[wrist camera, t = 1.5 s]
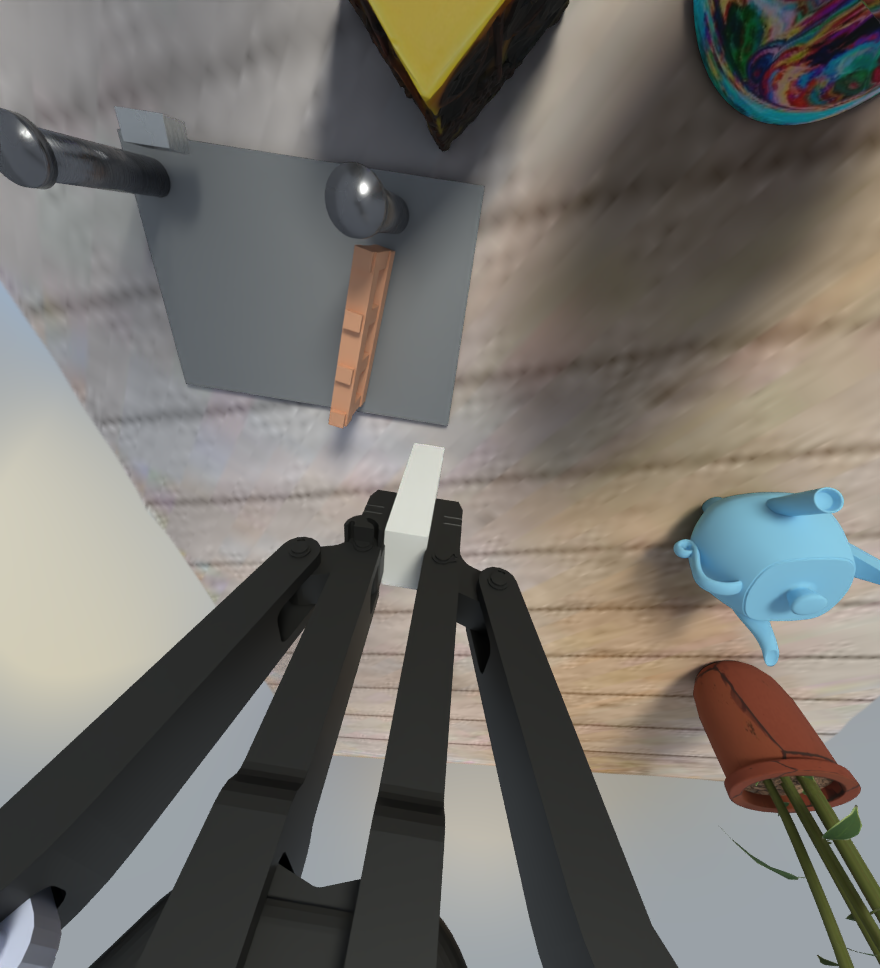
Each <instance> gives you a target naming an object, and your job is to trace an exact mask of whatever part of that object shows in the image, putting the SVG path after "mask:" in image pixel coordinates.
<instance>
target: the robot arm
mask: <svg viewBox="0 0 880 968" xmlns="http://www.w3.org/2000/svg"><path fill="white" fill-rule="evenodd" d="M444 449H445V448H443V447H437V446H431V445H425V444H419V443H414V446H413V449H412V452H411V455H410V458H409V461H408V464H407V467H406V469H405V472H404V475H403V478H402V481H401V484H400V487H399V490H398V493H395V492H388V491H382V490H377V491H376V492H375V493H373V494H372V495H371V496H370V498H369V500H368V502H367V505H366V507H365V509H364V511H363V514H362V515H359V516H354V517H352V518H350V519H348V520H347V521H346V523H345V524H344V534H345V542H344V543H342V544H339V545H334V546H323V547H320V545H319V543H318V542H317V541H316V540H314V539H312V538H308V537H297V538H294V539H291V540H289V541H287V542H286V543H284V544H283V545H282V546H281V547H280V548H279V549H278V550H277V551H276V552H275V553H274V554H272V555H271V556H270V557H269V558H268V559H267V560H266V561H265V562H264V563H263V564H262V565H261V566H260V567H259V568H257V569H256V570H255V571H254V572H253V573H252V574H251V575H250V576H249V577H248V578H247V579H246V580H245V581H244V582H242V583H241V584H240V585H239V586H238V587H237V588H236V589H235V590H234V591H233V592H232V593H231V594H230V595H229V596H227V597H226V598H225V599H224V600H223V601H222V602H221V603H220V604H219V605H218V606H217V607H216V608H215V609H214V610H213V611H211V612H210V613H209V614H208V615H207V616H206V617H205V618H204V619H203V620H202V621H201V622H200V623H199V624H197V625H196V626H195V627H194V628H193V629H192V630H191V631H190V632H189V633H188V634H187V635H186V636H185V637H184V638H182V640H180V641H179V642H178V643H177V644H176V645H175V646H174V647H173V648H172V649H171V650H170V651H169V652H167V653H166V654H165V655H164V656H163V657H162V658H161V659H160V660H159V661H158V662H157V663H156V664H155V665H154V666H153V667H151V668H150V669H149V670H148V671H147V672H146V673H145V674H144V675H143V676H142V677H141V678H140V679H139V680H138V681H137V682H135V683H134V684H133V685H132V686H131V687H130V688H129V689H128V690H127V691H126V692H125V693H124V694H123V695H121V696H120V697H119V698H118V699H117V700H116V701H115V702H114V703H113V704H112V705H111V706H110V707H109V708H107V710H105V711H104V712H103V713H102V714H101V715H100V716H99V717H98V718H97V719H96V720H95V721H94V722H92V723H91V724H90V725H89V726H88V727H87V728H86V729H85V730H84V731H83V732H82V733H81V734H80V735H79V736H78V737H76V738H75V739H74V740H73V741H72V742H71V743H70V744H69V745H68V746H67V747H66V748H65V749H64V750H62V751H61V752H60V753H59V754H58V755H57V756H56V757H55V758H54V759H53V760H52V761H51V762H50V763H49V764H48V765H46V766H45V767H44V768H43V769H42V770H41V771H40V772H39V773H38V774H37V775H36V776H35V777H34V778H32V779H31V780H30V781H29V782H28V783H27V784H26V785H25V786H24V787H23V788H22V789H21V790H20V791H19V792H17V794H15V795H14V796H13V797H12V798H11V799H10V800H9V801H8V802H7V803H6V804H5V805H4V806H2V807H1V808H0V968H52V966H53V963H54V961H55V956H56V953H57V951H58V948H59V943H60V938H61V929H62V928H63V927H64V926H66V925H67V924H68V923H69V922H70V921H71V920H72V919H73V918H74V917H75V916H76V915H77V914H78V913H79V912H80V911H81V910H82V909H83V908H84V907H85V906H86V905H87V903H88V902H89V901H90V900H91V899H92V898H93V897H94V896H95V895H96V894H97V893H98V892H99V891H100V889H101V888H102V887H103V886H104V885H105V884H106V883H107V882H108V881H109V880H110V878H111V877H112V876H113V875H114V874H115V872H116V871H117V870H118V869H119V867H120V866H121V865H122V864H123V863H124V861H125V860H126V859H127V858H128V857H129V855H130V854H131V853H132V852H133V850H134V849H135V848H136V846H137V845H138V844H139V843H140V841H141V840H142V839H143V838H144V836H145V835H146V834H147V832H148V831H149V830H150V828H151V827H152V826H153V824H154V823H155V822H156V821H157V819H158V818H159V817H160V815H161V814H162V813H163V811H164V810H165V809H166V808H167V806H168V805H169V804H170V802H171V801H172V800H173V798H174V797H175V796H176V795H177V793H178V792H179V791H180V789H181V788H182V786H183V785H184V784H185V783H186V781H187V780H188V779H189V778H190V776H191V775H192V774H193V772H194V771H195V770H196V769H197V767H198V766H199V765H200V763H201V762H202V761H203V759H204V758H205V756H207V754H208V753H209V752H210V750H211V749H212V748H213V746H214V745H215V744H216V743H217V741H218V740H219V739H220V737H221V736H222V735H223V733H224V732H225V731H226V730H227V728H228V727H229V725H230V724H231V723H232V722H233V720H234V719H235V718H236V717H237V715H238V714H239V713H240V711H241V710H242V709H243V707H244V706H245V705H246V703H247V702H248V701H249V700H250V698H251V697H252V696H253V694H254V693H255V692H256V690H257V689H258V688H259V687H260V685H261V684H262V683H263V681H264V680H265V679H266V677H267V676H268V675H269V674H270V672H271V671H272V670H273V668H274V667H275V666H276V664H277V663H278V662H279V661H280V659H281V658H282V657H283V655H284V654H285V653H286V651H287V650H288V649H289V648H290V646H291V645H292V644H293V642H294V641H295V640H296V638H297V637H298V636H299V635H300V633H301V632H302V631H303V629H304V628H305V630H304V632H303V634H302V636H301V638H300V640H299V643H298V645H297V647H296V649H295V651H294V654H293V656H292V658H291V660H290V662H289V664H288V667H287V669H286V671H285V673H284V675H283V678H282V680H281V682H280V684H279V686H278V688H277V691H276V693H275V695H274V697H273V700H272V702H271V704H270V706H269V708H268V710H267V713H266V715H265V717H264V719H263V721H262V724H261V726H260V728H259V730H258V732H257V734H256V736H255V739H254V741H253V743H252V745H251V747H250V750H249V752H248V754H247V756H246V758H245V760H244V762H243V764H242V766H241V768H240V769H239V771H238V772H237V774H235V775H234V776H233V777H231V778H230V779H229V780H228V781H227V783H226V784H225V785H224V787H223V788H222V789H221V791H220V793H219V795H218V797H217V799H216V800H215V802H214V804H213V807H212V808H211V811H210V813H209V815H208V817H207V819H206V821H205V823H204V825H203V827H202V829H201V831H200V834H199V836H198V838H197V840H196V842H195V844H194V846H193V848H192V850H191V852H190V854H189V857H188V859H187V861H186V863H185V865H184V867H183V869H182V871H181V873H180V875H179V878H178V880H177V882H176V884H175V886H174V888H173V890H172V891H170V892H169V893H168V894H167V895H165V896H164V897H163V898H162V899H160V900H159V901H158V902H157V903H156V904H155V905H154V906H153V907H152V908H151V909H150V910H148V911H147V912H146V913H145V914H144V915H143V916H142V917H141V918H140V919H139V920H138V921H137V922H136V923H135V924H134V925H133V926H132V927H131V928H130V929H129V930H127V931H126V932H125V933H124V934H123V935H122V936H121V937H120V938H119V939H118V940H117V941H116V942H115V943H114V944H113V945H112V946H111V947H110V948H109V949H108V950H107V951H105V952H104V953H103V954H102V955H101V956H100V957H99V958H98V959H97V960H96V961H95V962H94V963H93V964H92V965H91V966H90V967H89V968H467V966H466V963H465V960H464V959H463V956H462V953H461V951H460V949H459V947H458V945H457V943H456V941H455V939H454V937H453V935H452V933H451V932H450V930H449V929H448V927H447V926H446V925H445V923H444V921H443V920H442V919H441V918H440V901H441V886H442V885H441V884H442V869H443V854H444V838H445V837H444V836H445V814H444V789H445V776H446V762H447V748H448V733H449V719H450V705H451V691H452V677H453V662H454V648H455V634H456V622H457V623H459V624H461V625H463V626H465V627H466V632H467V637H468V641H469V646H470V650H471V655H472V659H473V664H474V668H475V673H476V678H477V682H478V687H479V691H480V696H481V700H482V705H483V709H484V714H485V718H486V723H487V728H488V732H489V737H490V741H491V746H492V750H493V755H494V759H495V764H496V768H497V773H498V777H499V782H500V787H501V791H502V796H503V800H504V805H505V809H506V813H507V818H508V823H509V827H510V832H511V837H512V841H513V845H514V850H515V855H516V859H517V864H518V868H519V873H520V877H521V882H522V887H523V891H524V895H525V900H526V905H527V909H528V914H529V918H530V922H531V926H532V930H533V934H534V937H535V941H536V945H537V949H538V952H539V956H540V959H541V962H542V965H543V968H678V966H677V965H676V963H675V961H674V960H673V958H672V957H671V955H670V954H669V952H668V950H667V949H666V947H665V945H664V944H663V943H662V941H661V939H660V938H659V936H658V935H657V933H656V931H655V930H654V928H653V926H652V924H651V922H650V919H649V917H648V914H647V912H646V909H645V907H644V904H643V901H642V899H641V896H640V894H639V892H638V889H637V886H636V884H635V881H634V879H633V876H632V874H631V871H630V868H629V866H628V863H627V861H626V858H625V856H624V853H623V851H622V848H621V846H620V843H619V841H618V838H617V835H616V833H615V831H614V828H613V825H612V823H611V820H610V818H609V815H608V813H607V810H606V808H605V806H604V803H603V800H602V797H601V795H600V792H599V790H598V787H597V785H596V782H595V780H594V777H593V775H592V772H591V769H590V767H589V764H588V762H587V759H586V757H585V754H584V752H583V749H582V747H581V744H580V741H579V739H578V736H577V734H576V731H575V729H574V726H573V724H572V721H571V719H570V716H569V714H568V711H567V708H566V706H565V703H564V701H563V698H562V696H561V693H560V691H559V688H558V686H557V683H556V681H555V678H554V675H553V673H552V670H551V668H550V665H549V663H548V660H547V658H546V655H545V653H544V650H543V648H542V645H541V642H540V640H539V637H538V635H537V632H536V630H535V627H534V625H533V622H532V620H531V617H530V615H529V612H528V609H527V607H526V604H525V602H524V599H523V597H522V594H521V592H520V589H519V587H518V584H517V582H516V580H515V578H514V577H513V575H511V574H510V573H509V572H508V571H506V570H504V569H501V568H497V567H490V568H486V569H484V570H483V571H479V570H477V569H475V568H473V567H471V566H469V565H468V564H467V563H466V562H465V561H464V560H463V559H462V557H461V555H460V540H461V525H462V512H463V510H462V508H461V506H460V504H459V502H455V501H449V500H443V499H437V494H438V488H439V481H440V475H441V468H442V462H443V456H444ZM381 579H382V584H385V585H391V586H397V587H403V588H409V589H416V590H417V594H416V599H415V604H414V609H413V615H412V620H411V625H410V630H409V636H408V641H407V646H406V651H405V657H404V662H403V667H402V672H401V677H400V683H399V688H398V693H397V698H396V704H395V709H394V714H393V719H392V725H391V730H390V735H389V740H388V746H387V751H386V756H385V762H384V767H383V772H382V777H381V783H380V787H379V793H378V797H377V801H376V805H375V810H374V815H373V820H372V825H371V829H370V835H369V840H368V845H367V850H366V856H365V861H364V866H363V871H362V877H361V879H359V880H354V881H350V882H345V883H340V884H335V885H330V886H326V887H320V888H319V887H314V886H312V885H311V884H309V883H308V882H306V881H305V880H303V879H301V874H302V871H303V867H304V864H305V860H306V856H307V853H308V848H309V844H310V838H311V832H312V826H313V822H314V817H315V814H316V810H317V807H318V803H319V800H320V797H321V793H322V789H323V786H324V783H325V779H326V776H327V772H328V769H329V765H330V762H331V759H332V755H333V752H334V748H335V745H336V741H337V738H338V735H339V731H340V728H341V724H342V721H343V717H344V714H345V710H346V707H347V704H348V700H349V697H350V693H351V690H352V686H353V683H354V679H355V676H356V672H357V669H358V666H359V662H360V659H361V655H362V652H363V648H364V645H365V641H366V638H367V635H368V631H369V628H370V624H371V621H372V617H373V614H374V610H375V607H376V604H377V600H378V597H379V586H380V583H381Z"/></svg>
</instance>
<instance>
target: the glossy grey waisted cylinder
mask: <svg viewBox="0 0 880 968" xmlns="http://www.w3.org/2000/svg"><path fill="white" fill-rule="evenodd" d="M325 205H326V209H327V212H328V215H329V217H330V219H331V221H332V223H333V224H334V226H335V227H336V228H337V229H338V230H339V231H340V232H341V233H343V234H344V235H346V236H348V237H350V238H354V239H367V238H370V237H373V236H374V235H376V234H377V233H378V232H379V233H388V234H399V233H401V232H402V231H404V229H405V228H406V227H407V225H408V222H409V210H408V207H407V204H406V203H405V201H404V200H403V199H402V198H401V197H399V196H397V195H396V194H394V193H392V192H390V191H389V190H387V189H385V188H384V186H383V184H382V182H381V181H380V179H379V178H378V177H377V175H376V174H375V173H374V172H372V171H371V170H370V169H368V168H367V167H365V166H364V165H362V164H359V163H356V162H346V163H343V164H341V165H339V166H337V167H336V168H335V169H334V170H333V171H332V173H331V174H330V176H329V178H328V180H327V183H326V187H325Z"/></svg>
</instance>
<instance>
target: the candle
mask: <svg viewBox="0 0 880 968" xmlns="http://www.w3.org/2000/svg"><path fill="white" fill-rule="evenodd" d="M349 1H350V3H351V4H352V6H353V8H354V9H355V11H356V12H357V14H358V15H359V16H360V18H361V20H362V21H363V23H364V25H365V27H366V29H367V30H368V32H369V33H370V36H371V38H372V41H373V43H374V44H375V45H376V46H377V47H378V50H379V52H380V54H381V55H382V57H383V58H384V60H385V61H386V62H387V64H388V65H389V67H390V69H391V70H392V73H393V75H394V76H395V78H396V79H397V81H398V83H399V85H400V87H403V88H405V94H406V97H408V98H413V100H414V102H415V104H416V105H417V106H418V108H419V109H420V111H421V112H422V114H423V115H424V117H425V119H426V121H427V125H428V128H429V131H430V133H431V135H432V136H433V138H434V140H435V142H436V144H437V145H438V146H439V149H441V150H442V152H443V151H447V150H449V148H450V144H451V143H452V141H453V140H454V139H456V138H457V137H458V136H459V135H461V134H462V132H463V131H464V130H465V129H466V127H467V126H468V124H470V123H471V122H473V121H474V120H475V119H476V117H477V116H478V114H479V113H480V112H481V110H482V109H483V108H484V106H485V105H486V104H487V103H488V102H489V101H490V100H491V99H492V98H493V97H494V96H495V95H496V94H497V92H498V91H499V90H500V88H501V87H502V85H503V83H504V82H505V80H506V79H509V78H510V77H511V76H512V75H513V73H514V71H515V69H516V68H517V67H518V66H520V65H521V64H522V62H523V58H524V57H525V56H526V55H527V54H528V52H529V51H530V50H531V49H532V48H533V46H534V45H535V44H536V42H537V41H538V40H539V38H540V37H541V36H542V34H543V33H544V32H545V30H546V29H548V28H549V27H551V26H552V25H554V24H555V23H557V22H558V21H559V19H560V16H561V14H562V13H563V12H564V10H565V9H566V8H567V7H568V4H569V0H349Z"/></svg>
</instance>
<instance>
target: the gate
mask: <svg viewBox="0 0 880 968" xmlns="http://www.w3.org/2000/svg"><path fill="white" fill-rule="evenodd" d="M394 256H395V251H393V250H390V249H388V248H385V247H382V246H380V245H355V246H354V253H353V260H352V267H351V274H350V280H349V287H348V294H347V301H346V308H345V315H344V321H343V328H342V335H341V342H340V349H339V356H338V362H337V369H336V376H335V383H334V390H333V396H332V403H331V410H330V417H329V424H330V425H333V426H336V427H339V428H342V429H343V427H344V426H347V425H348V424H349V422H350V421H351V419H352V415H353V414H354V413H355V411H356V410H357V409H358V407H359V406H360V407H361V406H362V405H363V403H364V402H365V399H366V394H367V389H368V384H369V379H370V375H371V370H372V365H373V360H374V355H375V350H376V345H377V340H378V335H379V330H380V325H381V320H382V315H383V310H384V305H385V301H386V296H387V291H388V286H389V281H390V276H391V271H392V266H393V261H394Z"/></svg>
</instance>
